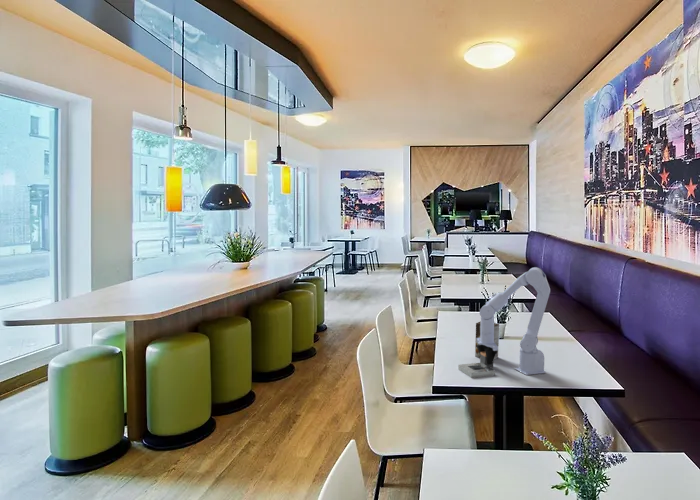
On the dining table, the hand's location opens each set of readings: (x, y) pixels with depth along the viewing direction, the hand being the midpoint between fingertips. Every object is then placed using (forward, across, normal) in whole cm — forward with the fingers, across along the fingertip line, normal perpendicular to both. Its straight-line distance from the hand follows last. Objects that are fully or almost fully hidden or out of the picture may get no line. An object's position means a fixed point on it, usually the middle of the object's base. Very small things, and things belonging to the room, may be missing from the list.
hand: (486, 362), depth 211 cm
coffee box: (+2, -12, +7) cm, 14 cm away
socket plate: (+2, +6, -8) cm, 11 cm away
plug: (+2, 0, 0) cm, 2 cm away
